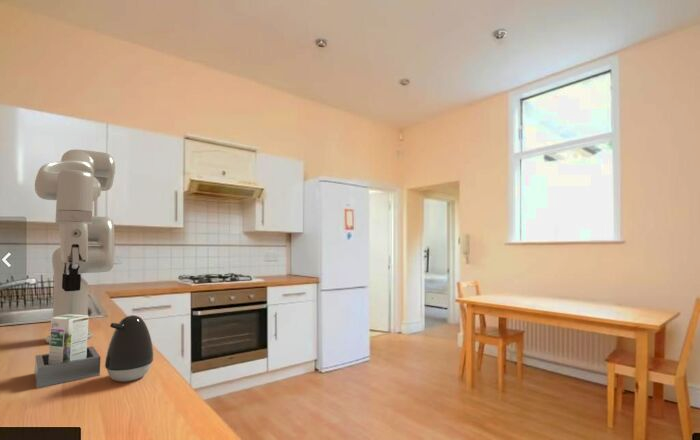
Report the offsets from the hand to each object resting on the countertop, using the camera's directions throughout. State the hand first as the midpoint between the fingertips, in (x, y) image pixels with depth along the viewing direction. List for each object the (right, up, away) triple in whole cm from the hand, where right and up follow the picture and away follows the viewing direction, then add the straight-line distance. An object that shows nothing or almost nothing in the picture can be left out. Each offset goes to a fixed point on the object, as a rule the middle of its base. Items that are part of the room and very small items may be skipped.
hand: (71, 289), depth 92 cm
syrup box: (0, -22, -1) cm, 22 cm away
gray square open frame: (0, -21, -1) cm, 21 cm away
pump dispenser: (+17, -22, -3) cm, 27 cm away
